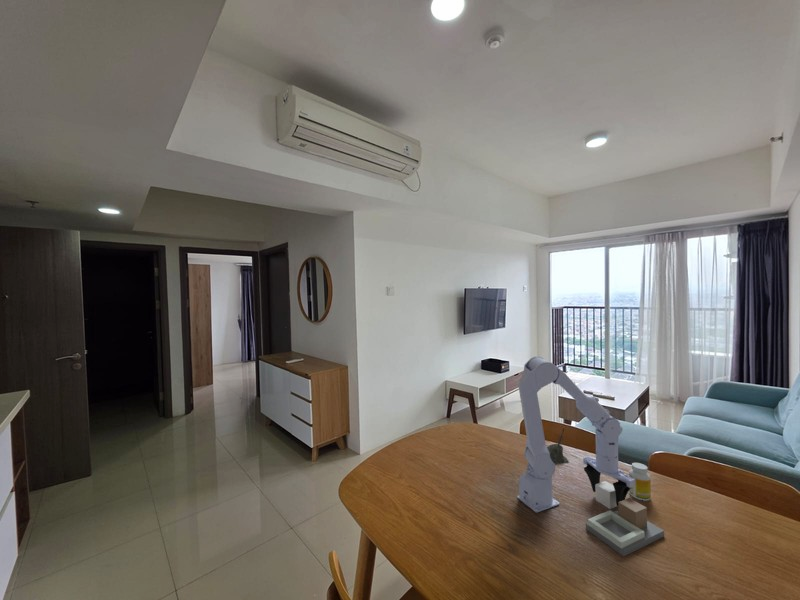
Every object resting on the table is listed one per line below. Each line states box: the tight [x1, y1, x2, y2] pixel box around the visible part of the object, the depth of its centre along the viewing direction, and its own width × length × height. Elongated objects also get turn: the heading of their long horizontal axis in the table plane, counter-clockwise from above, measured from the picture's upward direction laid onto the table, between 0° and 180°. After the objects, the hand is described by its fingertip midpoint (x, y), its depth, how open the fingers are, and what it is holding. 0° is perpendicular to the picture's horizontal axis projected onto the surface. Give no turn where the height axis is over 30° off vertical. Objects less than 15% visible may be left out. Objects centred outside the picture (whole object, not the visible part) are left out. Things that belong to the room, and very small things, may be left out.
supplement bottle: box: [628, 462, 652, 502], centre depth 99 cm, size 5×5×10 cm
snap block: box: [594, 480, 618, 510], centre depth 97 cm, size 4×4×5 cm
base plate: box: [585, 497, 665, 557], centre depth 84 cm, size 16×10×6 cm, turn 112°
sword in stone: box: [547, 427, 570, 464], centre depth 123 cm, size 10×8×12 cm
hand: (607, 497), depth 97 cm, fingers open, 7 cm apart
